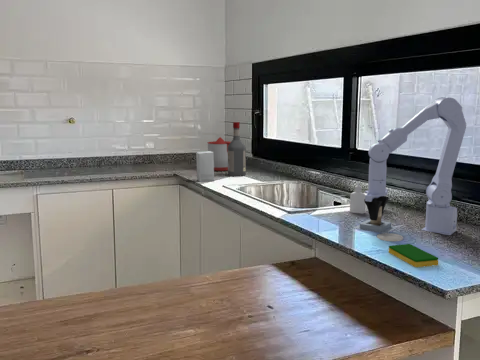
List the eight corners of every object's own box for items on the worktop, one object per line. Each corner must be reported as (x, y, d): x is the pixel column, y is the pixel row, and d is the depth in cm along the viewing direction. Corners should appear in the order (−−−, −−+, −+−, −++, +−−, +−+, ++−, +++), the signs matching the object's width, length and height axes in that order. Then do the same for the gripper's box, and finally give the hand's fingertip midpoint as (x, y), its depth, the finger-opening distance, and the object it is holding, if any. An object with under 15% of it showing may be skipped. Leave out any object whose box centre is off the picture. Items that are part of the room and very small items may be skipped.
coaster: (406, 238, 161) (406, 235, 161) (397, 244, 155) (397, 241, 155) (382, 234, 166) (382, 231, 166) (372, 239, 159) (372, 237, 159)
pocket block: (397, 228, 173) (398, 222, 172) (386, 234, 165) (387, 229, 164) (364, 223, 180) (365, 217, 179) (352, 229, 172) (352, 223, 172)
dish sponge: (409, 251, 149) (409, 243, 149) (438, 266, 136) (439, 257, 136) (387, 253, 147) (388, 245, 147) (415, 269, 134) (415, 260, 134)
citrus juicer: (226, 173, 296) (225, 138, 293) (202, 170, 306) (201, 137, 302) (240, 169, 309) (240, 136, 306) (217, 167, 319) (217, 135, 315)
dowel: (382, 224, 172) (383, 205, 171) (378, 226, 170) (379, 207, 168) (372, 222, 175) (373, 204, 173) (368, 225, 172) (369, 206, 171)
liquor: (230, 177, 281) (230, 123, 276) (227, 174, 290) (226, 122, 285) (246, 176, 284) (246, 122, 278) (242, 173, 292) (242, 121, 287)
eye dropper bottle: (356, 211, 198) (356, 181, 196) (366, 214, 194) (367, 183, 192) (347, 212, 196) (348, 182, 194) (358, 215, 191) (359, 184, 189)
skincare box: (211, 179, 275) (210, 150, 272) (214, 181, 268) (214, 152, 266) (196, 180, 272) (195, 151, 269) (199, 182, 266) (198, 152, 263)
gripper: (374, 175, 178) (373, 213, 180) (357, 181, 166) (355, 221, 168) (394, 177, 173) (392, 215, 176) (377, 183, 162) (376, 224, 164)
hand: (375, 218), depth 172 cm, fingers closed on dowel, 4 cm apart
